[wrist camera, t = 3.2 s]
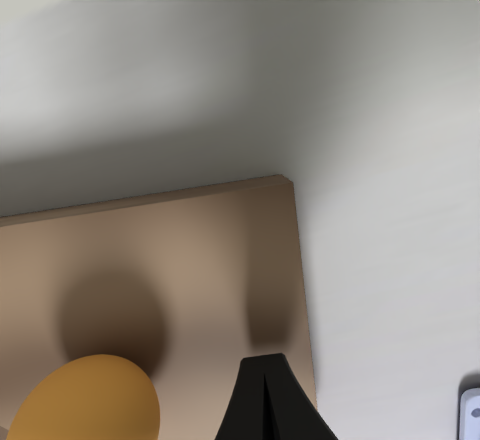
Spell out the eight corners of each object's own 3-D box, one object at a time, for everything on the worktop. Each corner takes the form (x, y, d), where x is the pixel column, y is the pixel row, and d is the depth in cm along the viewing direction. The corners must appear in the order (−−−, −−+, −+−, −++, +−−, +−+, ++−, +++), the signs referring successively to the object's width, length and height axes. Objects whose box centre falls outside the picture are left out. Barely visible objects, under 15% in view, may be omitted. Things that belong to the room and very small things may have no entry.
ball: (182, 414, 11) (152, 560, 7) (78, 427, 11) (-6, 577, 7) (159, 320, 10) (110, 430, 6) (45, 336, 10) (-73, 454, 6)
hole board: (310, 421, 14) (324, 478, 12) (-86, 471, 15) (-148, 535, 13) (281, 174, 11) (293, 182, 9) (-211, 249, 12) (-324, 276, 10)
